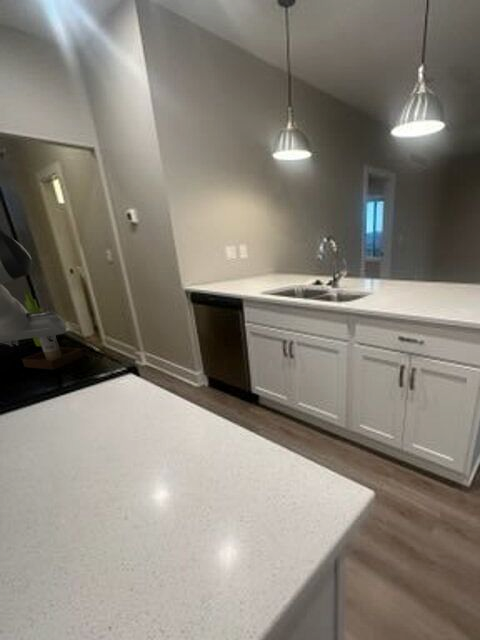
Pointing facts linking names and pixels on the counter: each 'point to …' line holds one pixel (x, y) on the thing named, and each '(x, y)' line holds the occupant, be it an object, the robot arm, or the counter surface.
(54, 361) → the food tray
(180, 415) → the counter surface
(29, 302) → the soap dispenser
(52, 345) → the sprinkles bottle
